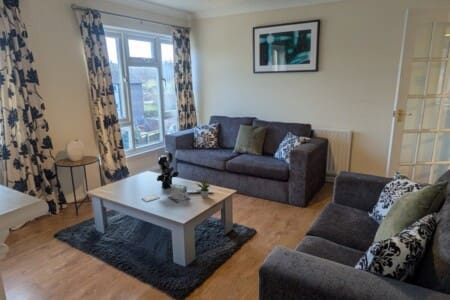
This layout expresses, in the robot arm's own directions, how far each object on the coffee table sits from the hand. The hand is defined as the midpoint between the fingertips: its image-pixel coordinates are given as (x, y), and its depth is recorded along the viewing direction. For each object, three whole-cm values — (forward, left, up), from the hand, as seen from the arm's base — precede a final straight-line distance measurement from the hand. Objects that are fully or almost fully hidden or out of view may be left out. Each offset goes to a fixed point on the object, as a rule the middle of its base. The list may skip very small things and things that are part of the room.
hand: (171, 184), depth 248 cm
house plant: (-20, +22, -9) cm, 31 cm away
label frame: (-1, +12, -9) cm, 15 cm away
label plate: (+17, -4, -9) cm, 20 cm away
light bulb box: (-1, +12, -9) cm, 15 cm away
